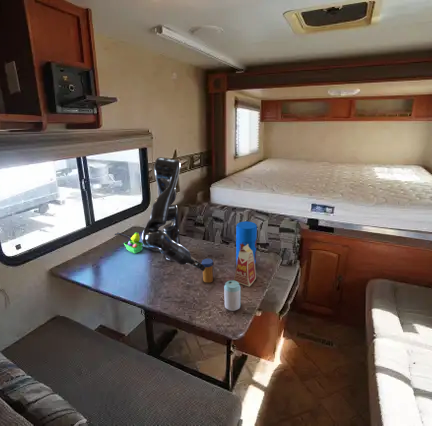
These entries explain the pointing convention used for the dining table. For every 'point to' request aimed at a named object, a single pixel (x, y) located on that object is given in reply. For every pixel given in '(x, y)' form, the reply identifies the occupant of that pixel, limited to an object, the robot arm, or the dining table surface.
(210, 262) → the jar lid
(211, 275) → the jar
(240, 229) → the thermos
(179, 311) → the dining table surface
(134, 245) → the fruit basket
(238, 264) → the milk carton
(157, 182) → the robot arm
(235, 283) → the can
